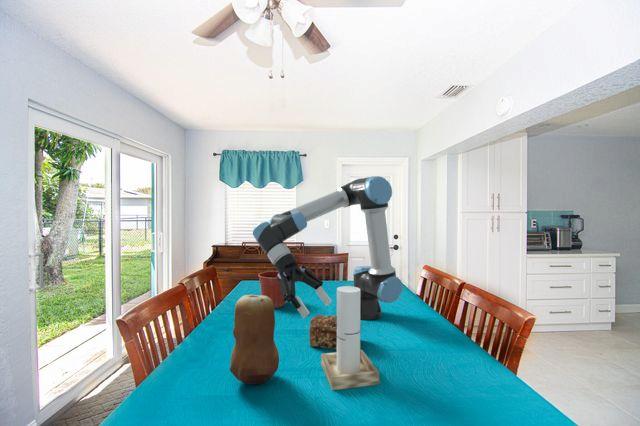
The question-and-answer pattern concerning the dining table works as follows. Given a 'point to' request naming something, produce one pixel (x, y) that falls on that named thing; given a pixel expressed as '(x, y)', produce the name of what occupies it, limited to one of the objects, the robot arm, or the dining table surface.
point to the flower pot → (271, 288)
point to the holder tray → (337, 381)
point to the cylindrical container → (348, 330)
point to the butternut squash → (254, 340)
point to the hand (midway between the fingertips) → (318, 309)
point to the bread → (323, 331)
